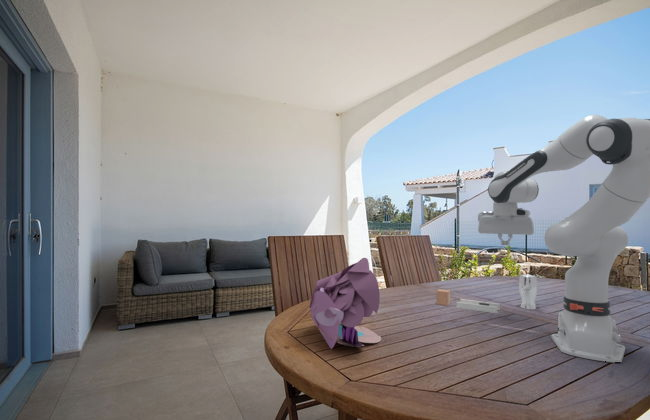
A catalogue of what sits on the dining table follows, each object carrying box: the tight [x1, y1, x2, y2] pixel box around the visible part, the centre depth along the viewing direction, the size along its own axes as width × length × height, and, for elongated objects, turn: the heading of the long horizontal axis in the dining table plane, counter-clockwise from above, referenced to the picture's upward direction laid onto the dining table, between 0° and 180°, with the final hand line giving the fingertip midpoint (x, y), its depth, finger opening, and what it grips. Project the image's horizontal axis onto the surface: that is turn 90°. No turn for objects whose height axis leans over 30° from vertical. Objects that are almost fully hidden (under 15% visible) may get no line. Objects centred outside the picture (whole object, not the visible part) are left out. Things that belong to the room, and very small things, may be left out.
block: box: [435, 288, 452, 307], centre depth 158 cm, size 5×5×6 cm
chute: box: [456, 298, 501, 314], centre depth 150 cm, size 8×16×4 cm, turn 57°
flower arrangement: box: [309, 257, 382, 350], centre depth 115 cm, size 35×24×28 cm
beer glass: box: [518, 274, 538, 310], centre depth 152 cm, size 7×7×15 cm
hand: (505, 245), depth 142 cm, fingers closed
